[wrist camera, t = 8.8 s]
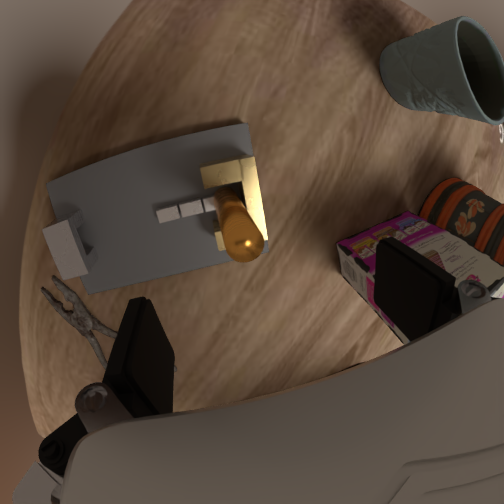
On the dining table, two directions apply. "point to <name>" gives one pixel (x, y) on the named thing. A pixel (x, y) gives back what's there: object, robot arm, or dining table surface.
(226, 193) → the amber lever
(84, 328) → the pliers
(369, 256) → the candy bar box
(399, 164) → the dining table surface
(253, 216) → the bracket
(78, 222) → the block
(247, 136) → the tie down board
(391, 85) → the grey green cup
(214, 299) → the dining table surface
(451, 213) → the beer stein
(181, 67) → the dining table surface
